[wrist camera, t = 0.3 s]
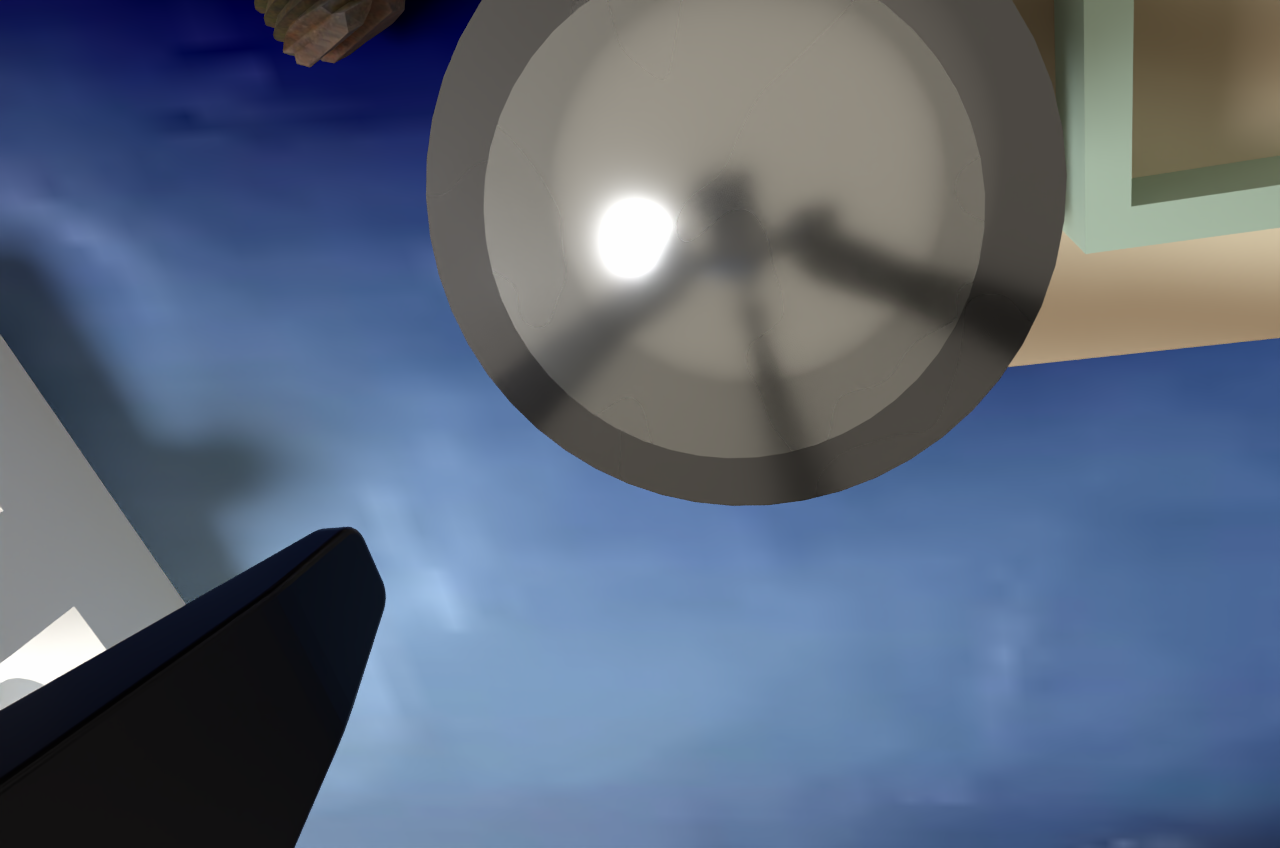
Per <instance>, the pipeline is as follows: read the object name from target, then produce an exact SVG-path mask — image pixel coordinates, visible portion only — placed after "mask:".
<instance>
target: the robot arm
mask: <svg viewBox="0 0 1280 848" xmlns="http://www.w3.org/2000/svg"><path fill="white" fill-rule="evenodd" d="M385 600H386V594H385V587H384V584H383V581H382V579H381V577H380V574H379V572H378V570H377V568H376V565H375V563H374V561H373V558H372V556H371V554H370V552H369V549H368V547H367V545H366V543H365V540H364V538H363V537H362V535H361V534H360V533H359V532H358V531H357V530H356V529H354V528H352V527H339V528H326V529H320V530H317V531H315V532H313V533H311V534H309V535H307V536H306V537H304V538H302V539H300V540H299V541H297V542H295V543H293V544H292V545H290V546H288V547H286V548H285V549H283V550H281V551H279V552H278V553H276V554H274V555H272V556H271V557H269V558H267V559H265V560H264V561H262V562H260V563H258V564H256V565H255V566H253V567H251V568H249V569H248V570H246V571H244V572H242V573H241V574H239V575H237V576H235V577H234V578H232V579H230V580H228V581H227V582H225V583H223V584H221V585H220V586H218V587H216V588H214V589H213V590H211V591H209V592H207V593H206V594H204V595H202V596H200V597H198V598H197V599H195V600H193V601H191V602H190V603H188V604H186V605H184V606H183V607H181V608H179V609H177V610H176V611H174V612H172V613H170V614H169V615H167V616H165V617H163V618H162V619H160V620H158V621H156V622H155V623H153V624H151V625H149V626H148V627H146V628H144V629H142V630H140V631H139V632H137V633H135V634H133V635H132V636H130V637H128V638H126V639H125V640H123V641H121V642H119V643H118V644H116V645H114V646H112V647H111V648H109V649H107V650H105V651H104V652H102V653H100V654H98V655H97V656H95V657H93V658H91V659H90V660H88V661H86V662H84V663H82V664H81V665H79V666H77V667H75V668H74V669H72V670H70V671H68V672H67V673H65V674H63V675H61V676H60V677H58V678H56V679H54V680H53V681H51V682H49V683H47V684H46V685H44V686H42V687H40V688H39V689H37V690H35V691H33V692H32V693H30V694H28V695H26V696H24V697H23V698H21V699H19V700H17V701H16V702H14V703H12V704H10V705H9V706H7V707H5V708H3V709H2V710H0V848H295V845H296V843H297V841H298V838H299V836H300V834H301V831H302V829H303V827H304V825H305V822H306V820H307V818H308V815H309V813H310V811H311V808H312V806H313V804H314V801H315V799H316V797H317V795H318V792H319V790H320V788H321V785H322V783H323V781H324V778H325V776H326V774H327V771H328V769H329V767H330V764H331V762H332V760H333V758H334V755H335V753H336V751H337V748H338V746H339V743H340V741H341V738H342V736H343V733H344V731H345V728H346V725H347V722H348V720H349V717H350V714H351V711H352V708H353V705H354V702H355V699H356V696H357V693H358V689H359V686H360V683H361V680H362V677H363V674H364V671H365V667H366V664H367V661H368V658H369V655H370V652H371V649H372V645H373V642H374V639H375V636H376V633H377V630H378V627H379V624H380V620H381V617H382V614H383V611H384V607H385Z"/></svg>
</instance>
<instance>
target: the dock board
mask: <svg viewBox="0 0 1280 848" xmlns="http://www.w3.org/2000/svg"><path fill="white" fill-rule="evenodd" d="M1012 1H1013V3H1014V4H1015V6H1016V8H1017V10H1018V11H1019V13H1020V15H1021V16H1022V18H1023V20H1024V22H1025V23H1026V25H1027V27H1028V28H1029V30H1030V32H1031V34H1032V35H1033V37H1034V39H1035V42H1036V44H1037V47H1038V49H1039V52H1040V54H1041V57H1042V59H1043V62H1044V64H1045V67H1046V69H1047V72H1048V74H1049V77H1050V79H1051V82H1052V85H1053V90H1054V94H1055V98H1056V81H1055V28H1054V0H1012ZM1279 155H1280V0H1134V26H1133V107H1132V178H1137V177H1144V176H1150V175H1157V174H1163V173H1170V172H1176V171H1182V170H1189V169H1195V168H1202V167H1208V166H1215V165H1221V164H1228V163H1234V162H1241V161H1247V160H1254V159H1260V158H1267V157H1273V156H1279ZM1273 338H1280V228H1274V229H1266V230H1259V231H1252V232H1244V233H1237V234H1230V235H1222V236H1215V237H1207V238H1200V239H1193V240H1185V241H1178V242H1171V243H1163V244H1156V245H1149V246H1141V247H1134V248H1126V249H1119V250H1112V251H1104V252H1097V253H1090V254H1085V253H1084V252H1083V251H1082V250H1081V249H1080V248H1079V247H1078V246H1077V245H1076V244H1075V243H1074V242H1073V241H1072V240H1071V239H1070V238H1069V237H1068V236H1067V235H1066V234H1065V233H1064V232H1063V231H1062V235H1061V241H1060V246H1059V251H1058V256H1057V261H1056V266H1055V269H1054V272H1053V275H1052V277H1051V280H1050V283H1049V286H1048V289H1047V292H1046V295H1045V298H1044V301H1043V304H1042V307H1041V309H1040V311H1039V313H1038V315H1037V317H1036V319H1035V321H1034V323H1033V325H1032V327H1031V329H1030V331H1029V333H1028V335H1027V337H1026V339H1025V341H1024V343H1023V345H1022V347H1021V348H1020V350H1019V351H1018V352H1017V354H1016V355H1015V357H1014V358H1013V360H1012V361H1011V363H1010V364H1009V366H1008V367H1011V366H1021V365H1030V364H1039V363H1049V362H1058V361H1067V360H1077V359H1086V358H1095V357H1105V356H1114V355H1123V354H1133V353H1142V352H1151V351H1161V350H1170V349H1179V348H1189V347H1198V346H1207V345H1217V344H1226V343H1235V342H1245V341H1254V340H1263V339H1273Z"/></svg>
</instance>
